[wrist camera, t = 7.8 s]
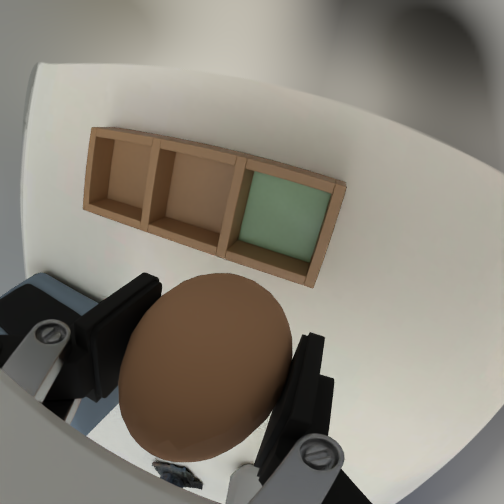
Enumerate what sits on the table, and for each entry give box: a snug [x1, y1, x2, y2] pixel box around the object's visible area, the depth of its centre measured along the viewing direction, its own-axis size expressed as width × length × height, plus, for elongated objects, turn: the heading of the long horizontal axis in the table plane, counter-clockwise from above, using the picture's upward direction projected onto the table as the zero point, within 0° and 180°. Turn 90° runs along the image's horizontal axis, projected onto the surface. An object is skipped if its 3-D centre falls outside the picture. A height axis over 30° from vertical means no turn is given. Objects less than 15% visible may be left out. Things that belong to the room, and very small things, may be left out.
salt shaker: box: [226, 464, 262, 504], centre depth 33 cm, size 6×6×13 cm
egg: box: [118, 273, 292, 462], centre depth 10 cm, size 5×5×8 cm
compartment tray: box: [83, 127, 347, 288], centre depth 26 cm, size 23×8×3 cm, turn 76°
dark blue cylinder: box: [152, 462, 203, 490], centre depth 40 cm, size 9×8×12 cm
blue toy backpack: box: [0, 273, 119, 436], centre depth 31 cm, size 16×16×16 cm
